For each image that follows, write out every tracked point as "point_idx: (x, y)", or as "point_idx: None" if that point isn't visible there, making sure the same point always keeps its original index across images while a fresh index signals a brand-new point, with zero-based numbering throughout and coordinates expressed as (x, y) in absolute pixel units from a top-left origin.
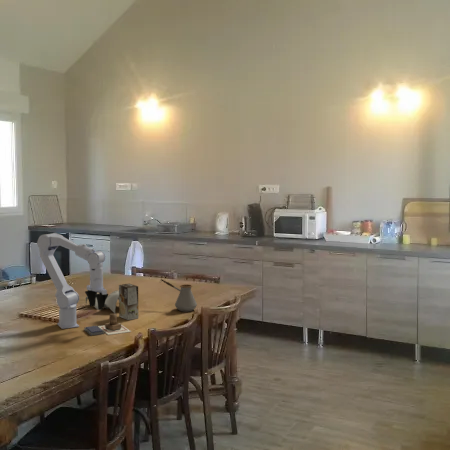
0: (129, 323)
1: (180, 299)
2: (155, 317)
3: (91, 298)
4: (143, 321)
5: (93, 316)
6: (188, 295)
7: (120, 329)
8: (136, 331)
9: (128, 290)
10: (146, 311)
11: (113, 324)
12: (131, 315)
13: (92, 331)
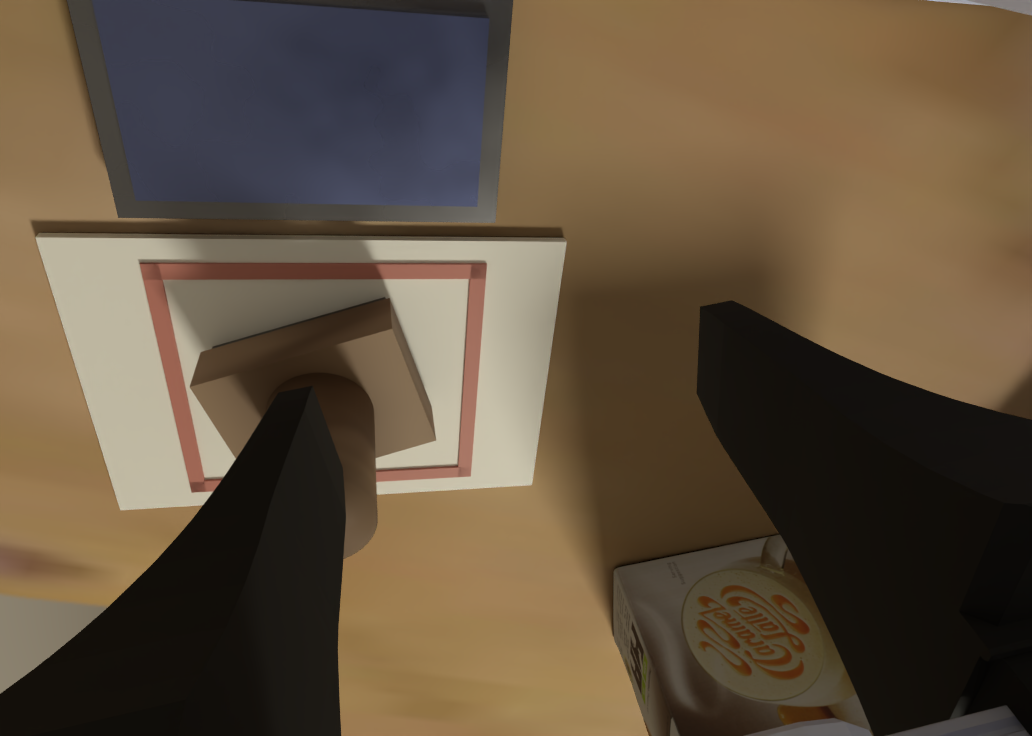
0: (494, 556)
1: None
2: (554, 730)
3: (812, 459)
4: (490, 653)
5: (1018, 331)
6: None
7: None
8: (127, 550)
9: None
10: None
11: (265, 411)
12: (626, 630)
13: (116, 15)
